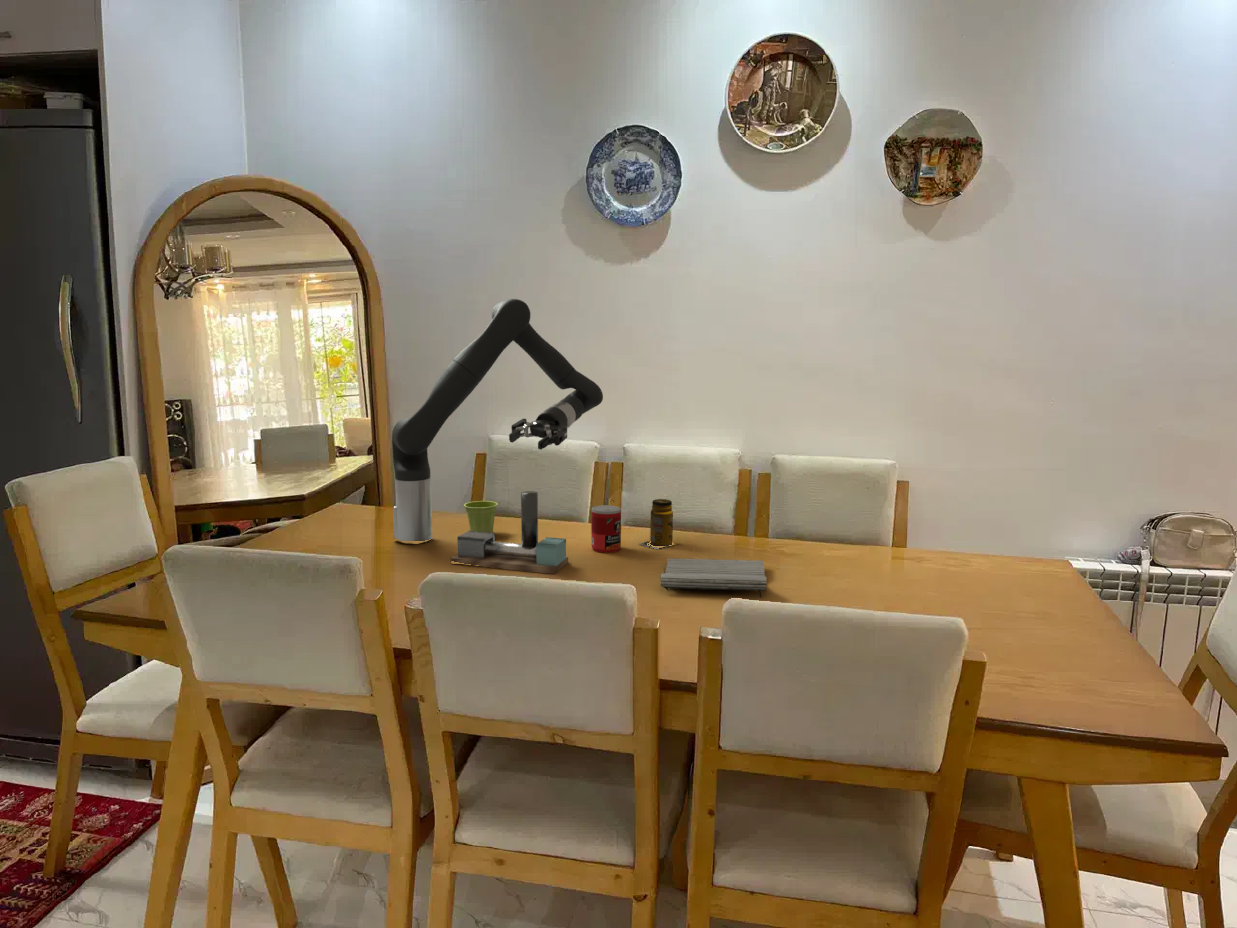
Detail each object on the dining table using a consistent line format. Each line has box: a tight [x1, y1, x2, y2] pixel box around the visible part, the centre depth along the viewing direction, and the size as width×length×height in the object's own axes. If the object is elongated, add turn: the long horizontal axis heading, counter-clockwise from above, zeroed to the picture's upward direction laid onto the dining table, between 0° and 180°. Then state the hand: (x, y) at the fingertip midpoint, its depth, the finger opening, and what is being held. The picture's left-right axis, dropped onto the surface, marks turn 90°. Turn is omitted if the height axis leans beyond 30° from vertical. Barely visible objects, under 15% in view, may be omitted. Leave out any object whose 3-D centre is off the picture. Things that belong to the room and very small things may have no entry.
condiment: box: [638, 498, 674, 550], centre depth 220 cm, size 7×8×12 cm
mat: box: [659, 557, 768, 598], centre depth 189 cm, size 23×24×5 cm
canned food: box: [590, 504, 622, 554], centre depth 215 cm, size 8×8×11 cm
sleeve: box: [457, 530, 496, 559], centre depth 204 cm, size 7×6×5 cm
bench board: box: [450, 553, 569, 575], centre depth 202 cm, size 27×10×2 cm, turn 73°
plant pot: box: [463, 500, 499, 533], centre depth 230 cm, size 9×9×9 cm
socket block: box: [536, 536, 567, 566], centre depth 198 cm, size 5×7×5 cm
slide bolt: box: [485, 490, 539, 559], centre depth 200 cm, size 20×4×16 cm, turn 73°
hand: (524, 442), depth 209 cm, fingers open, 8 cm apart
